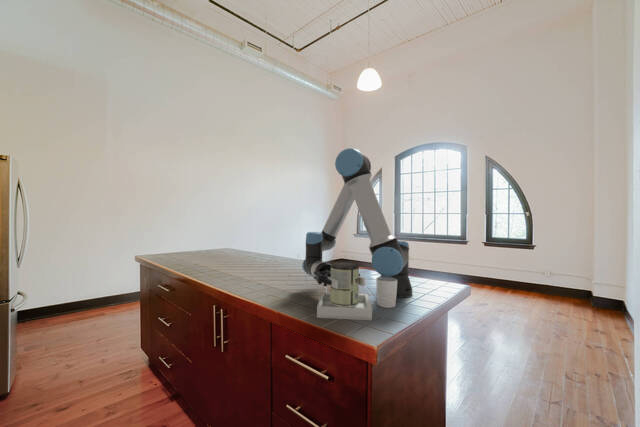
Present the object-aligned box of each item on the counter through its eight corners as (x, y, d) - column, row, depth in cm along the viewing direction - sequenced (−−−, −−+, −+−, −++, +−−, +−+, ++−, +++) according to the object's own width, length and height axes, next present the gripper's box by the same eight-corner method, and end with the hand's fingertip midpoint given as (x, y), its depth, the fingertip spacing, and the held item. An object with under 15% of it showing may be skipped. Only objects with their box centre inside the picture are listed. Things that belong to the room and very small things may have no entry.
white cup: (397, 303, 112) (398, 277, 113) (396, 309, 105) (396, 282, 105) (377, 301, 115) (377, 276, 115) (374, 307, 108) (374, 280, 108)
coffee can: (330, 298, 109) (331, 261, 109) (358, 299, 108) (358, 262, 108) (328, 307, 99) (329, 265, 99) (359, 308, 98) (359, 267, 98)
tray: (367, 303, 112) (367, 294, 112) (371, 320, 94) (372, 309, 94) (321, 301, 113) (321, 292, 113) (316, 317, 95) (317, 307, 95)
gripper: (346, 278, 125) (377, 291, 104) (297, 282, 115) (320, 297, 95) (346, 260, 125) (377, 270, 104) (297, 263, 115) (321, 275, 95)
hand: (350, 283), depth 100 cm, fingers closed on coffee can, 10 cm apart
